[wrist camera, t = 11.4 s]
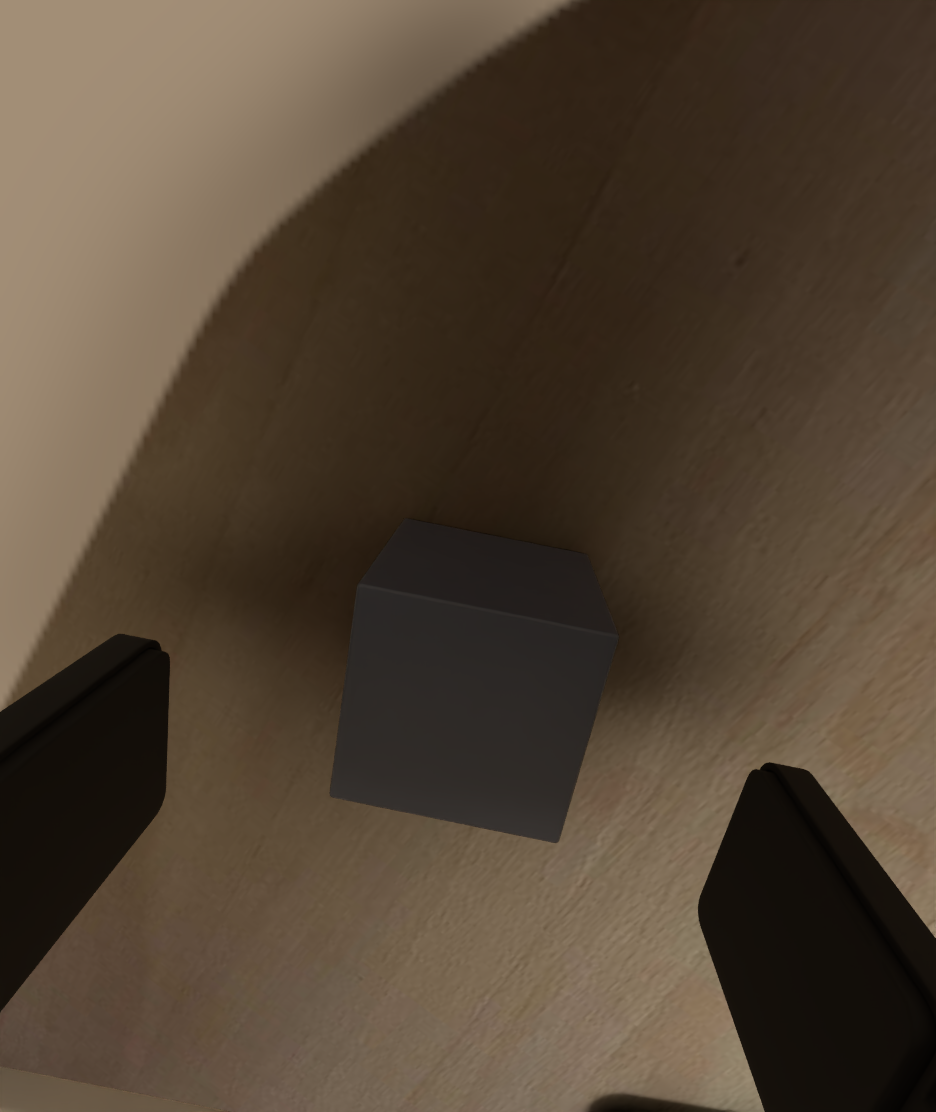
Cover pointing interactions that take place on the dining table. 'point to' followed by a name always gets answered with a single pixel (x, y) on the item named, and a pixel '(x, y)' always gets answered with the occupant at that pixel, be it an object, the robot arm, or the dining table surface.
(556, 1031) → the dining table surface
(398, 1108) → the dining table surface
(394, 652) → the block
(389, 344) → the dining table surface
